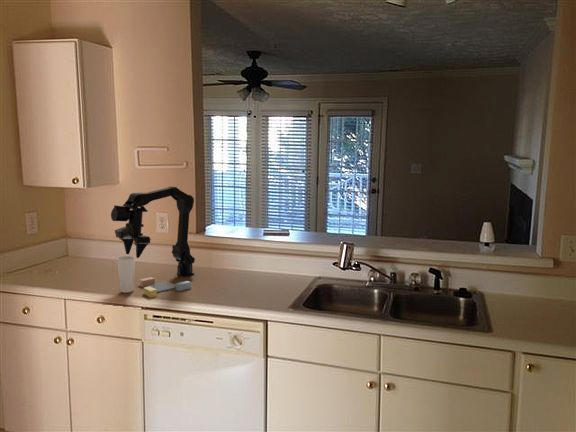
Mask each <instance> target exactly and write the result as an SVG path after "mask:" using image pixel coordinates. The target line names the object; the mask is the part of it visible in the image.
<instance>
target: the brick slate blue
mask: <svg viewBox="0 0 576 432" xmlns="http://www.w3.org/2000/svg"><path fill="white" fill-rule="evenodd" d="M174 284H175V285H176V289H175V290H176V291H178V292H181V291H186V290H190V289H192V282H191V281H188V280H184V281H181V282H175V283H174Z"/></svg>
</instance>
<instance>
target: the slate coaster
mask: <svg viewBox="0 0 576 432" xmlns="http://www.w3.org/2000/svg"><path fill="white" fill-rule="evenodd" d="M149 286H150V287H152V288H154V289H157V294H159V293H162V292H168V291H171V290H176V284H175V283H172V282H170V281H167V280H165V281H162V282H155V284H151V285H147V286H145V287H149ZM145 287H144V288H145Z"/></svg>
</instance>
